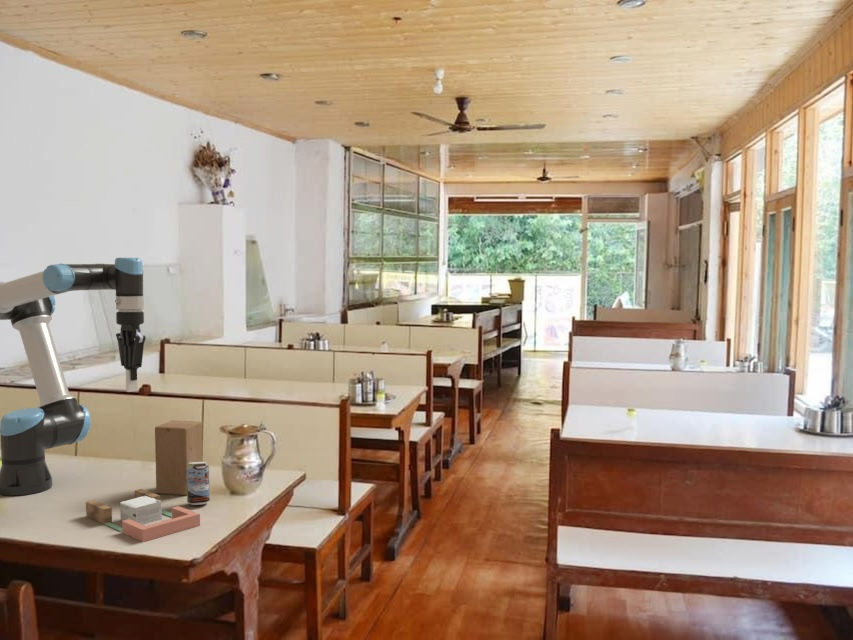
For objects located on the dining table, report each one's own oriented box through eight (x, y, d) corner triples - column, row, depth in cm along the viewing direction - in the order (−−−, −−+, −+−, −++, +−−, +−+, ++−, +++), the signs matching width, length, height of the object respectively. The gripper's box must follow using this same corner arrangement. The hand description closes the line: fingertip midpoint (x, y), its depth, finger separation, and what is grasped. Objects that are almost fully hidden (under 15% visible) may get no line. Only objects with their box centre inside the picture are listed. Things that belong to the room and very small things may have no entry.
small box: (119, 520, 208) (119, 501, 208) (146, 513, 214) (146, 494, 214) (135, 527, 203) (135, 507, 203) (162, 519, 209) (162, 500, 209)
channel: (86, 516, 211) (85, 501, 211) (141, 502, 223) (141, 488, 223) (104, 524, 205) (104, 509, 204) (160, 510, 217) (160, 495, 216)
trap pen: (122, 532, 199) (121, 520, 198) (178, 517, 211) (178, 506, 211) (142, 541, 192) (142, 529, 192) (200, 525, 204) (199, 514, 204)
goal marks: (104, 524, 205) (104, 523, 205) (160, 510, 217) (160, 509, 217) (120, 531, 199) (120, 530, 199) (176, 516, 211) (176, 515, 211)
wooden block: (186, 495, 230) (185, 428, 228) (155, 493, 232) (154, 426, 230) (203, 486, 240) (202, 421, 238) (173, 484, 242) (171, 419, 240)
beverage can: (189, 509, 217) (188, 466, 217) (184, 501, 224) (183, 460, 223) (212, 505, 220) (212, 463, 219) (207, 498, 227) (206, 457, 226)
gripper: (106, 310, 230) (108, 390, 232) (129, 312, 222) (130, 395, 224) (130, 309, 236) (132, 387, 238) (153, 311, 227) (155, 392, 229)
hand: (131, 391), depth 231 cm, fingers closed
